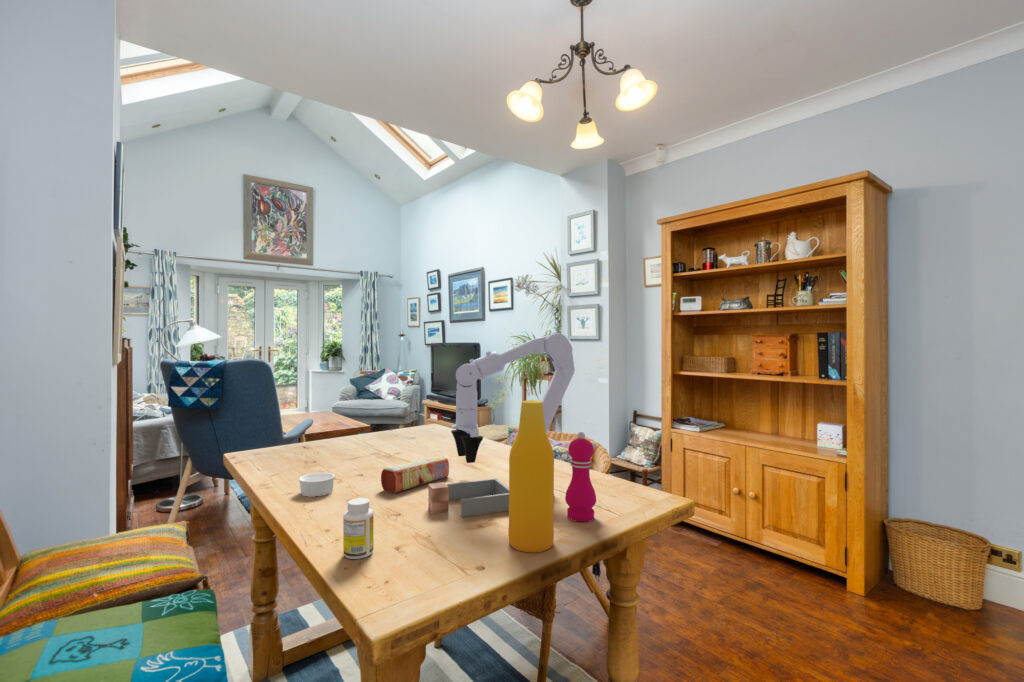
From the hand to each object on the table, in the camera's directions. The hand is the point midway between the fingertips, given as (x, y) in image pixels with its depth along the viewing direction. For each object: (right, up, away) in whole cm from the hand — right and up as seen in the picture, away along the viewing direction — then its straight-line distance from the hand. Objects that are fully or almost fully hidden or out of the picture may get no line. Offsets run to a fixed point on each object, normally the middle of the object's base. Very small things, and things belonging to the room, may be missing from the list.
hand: (466, 459), depth 129 cm
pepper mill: (+28, -10, -16) cm, 34 cm away
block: (-6, -10, -12) cm, 16 cm away
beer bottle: (+16, -10, -31) cm, 36 cm away
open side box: (+4, -10, -8) cm, 13 cm away
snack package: (-15, -10, +9) cm, 20 cm away
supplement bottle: (-17, -10, -36) cm, 41 cm away
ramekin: (-40, -10, +1) cm, 41 cm away
